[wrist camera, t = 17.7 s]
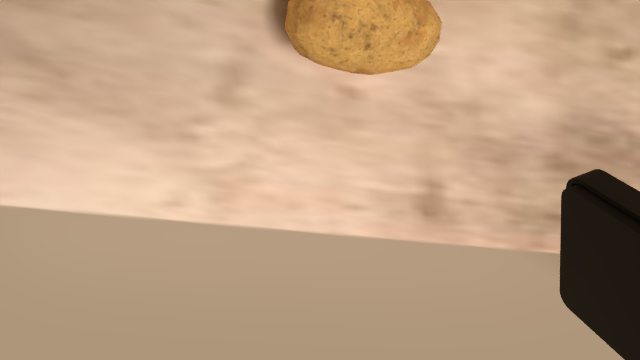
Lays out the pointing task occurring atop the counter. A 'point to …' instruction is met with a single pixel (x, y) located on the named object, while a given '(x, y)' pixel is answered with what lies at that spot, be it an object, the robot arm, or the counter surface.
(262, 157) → the counter surface
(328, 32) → the potato
